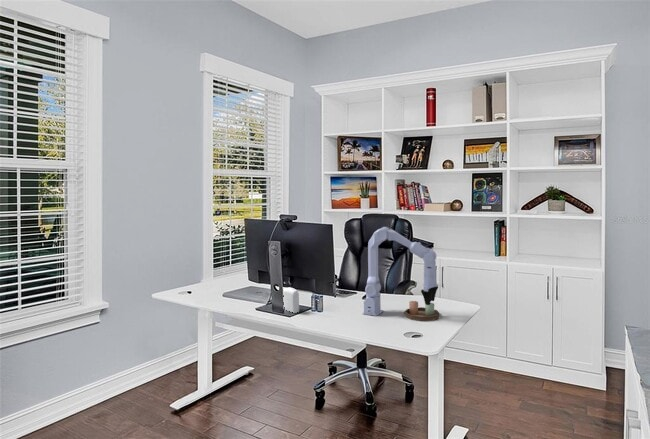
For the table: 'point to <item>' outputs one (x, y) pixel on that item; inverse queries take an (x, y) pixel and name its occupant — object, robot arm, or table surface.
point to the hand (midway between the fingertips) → (429, 302)
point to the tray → (421, 315)
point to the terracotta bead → (413, 307)
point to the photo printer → (291, 299)
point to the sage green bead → (429, 309)
